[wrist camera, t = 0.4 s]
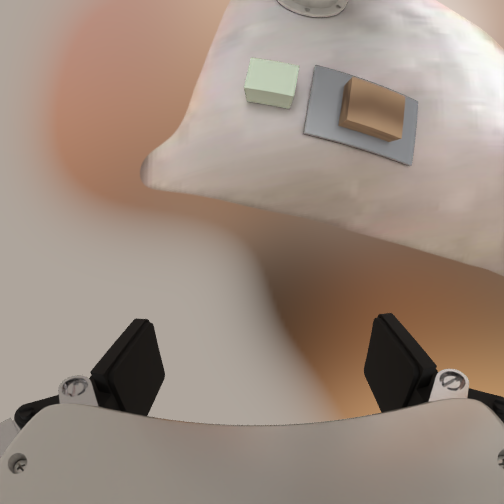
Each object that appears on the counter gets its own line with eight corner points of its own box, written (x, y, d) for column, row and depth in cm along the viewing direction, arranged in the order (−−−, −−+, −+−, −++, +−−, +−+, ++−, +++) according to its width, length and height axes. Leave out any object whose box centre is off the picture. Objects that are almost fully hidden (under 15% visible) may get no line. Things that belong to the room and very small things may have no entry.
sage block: (252, 74, 33) (251, 57, 27) (294, 81, 33) (299, 65, 27) (246, 101, 34) (243, 87, 28) (289, 109, 34) (294, 96, 28)
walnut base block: (344, 85, 31) (352, 76, 28) (393, 103, 31) (405, 96, 28) (338, 125, 33) (346, 119, 29) (388, 142, 33) (401, 138, 29)
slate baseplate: (314, 67, 32) (315, 64, 31) (415, 102, 32) (418, 101, 31) (303, 133, 34) (304, 132, 34) (408, 165, 35) (411, 165, 34)
